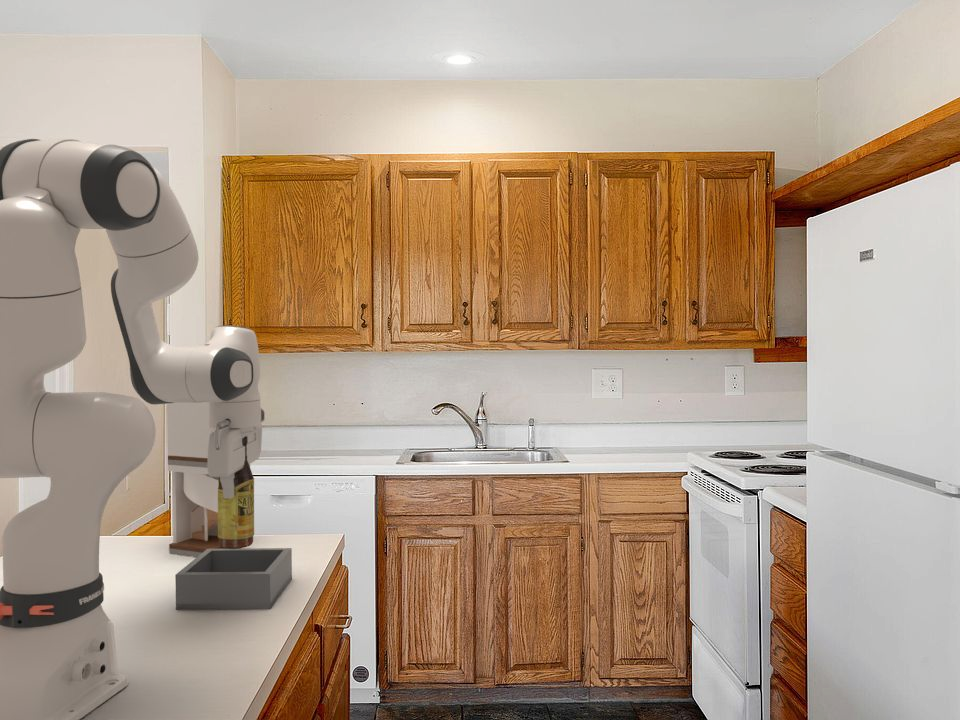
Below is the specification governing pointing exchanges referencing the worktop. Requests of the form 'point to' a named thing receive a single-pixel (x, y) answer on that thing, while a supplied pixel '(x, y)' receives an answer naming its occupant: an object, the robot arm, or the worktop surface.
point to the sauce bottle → (237, 509)
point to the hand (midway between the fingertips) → (236, 493)
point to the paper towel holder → (191, 480)
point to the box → (234, 579)
